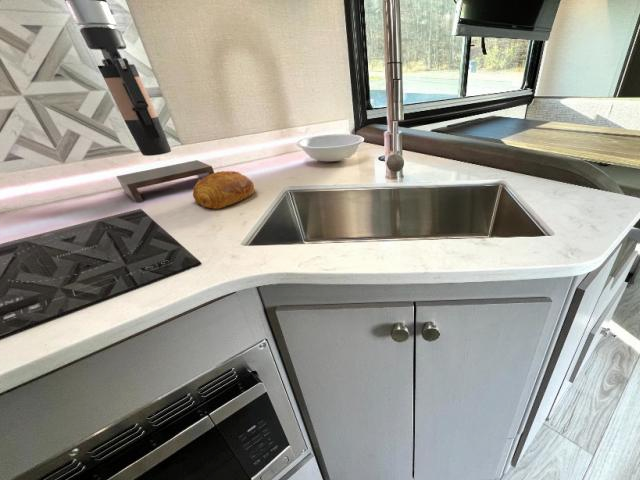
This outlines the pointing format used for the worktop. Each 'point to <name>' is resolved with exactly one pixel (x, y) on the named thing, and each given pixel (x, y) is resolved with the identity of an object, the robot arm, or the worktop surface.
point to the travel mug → (129, 116)
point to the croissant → (222, 189)
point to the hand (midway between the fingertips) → (149, 136)
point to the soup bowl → (331, 146)
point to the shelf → (161, 176)
